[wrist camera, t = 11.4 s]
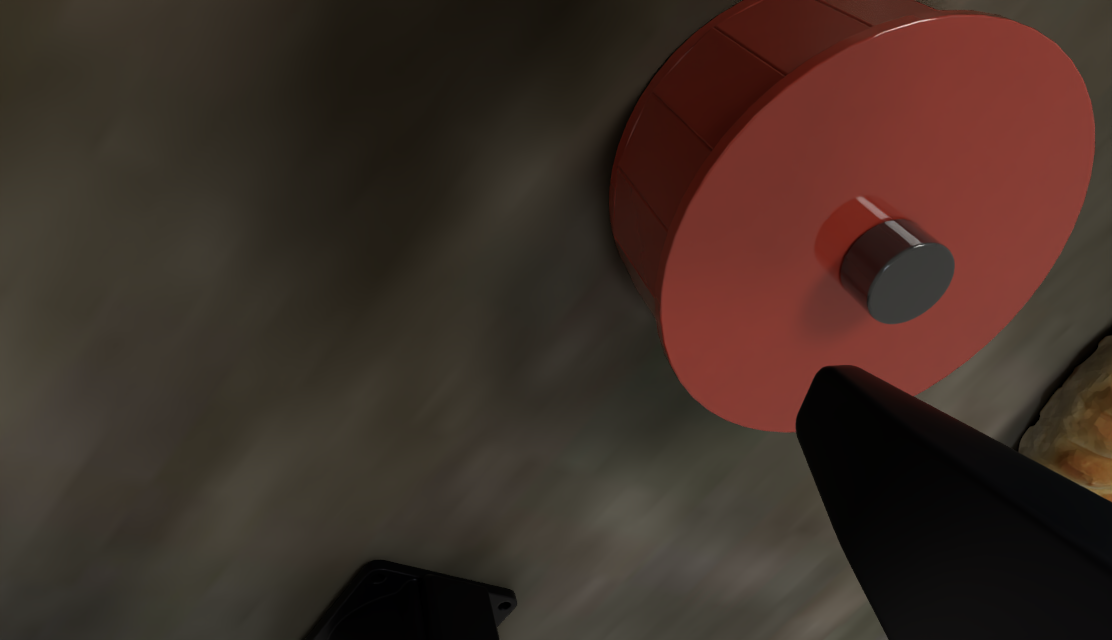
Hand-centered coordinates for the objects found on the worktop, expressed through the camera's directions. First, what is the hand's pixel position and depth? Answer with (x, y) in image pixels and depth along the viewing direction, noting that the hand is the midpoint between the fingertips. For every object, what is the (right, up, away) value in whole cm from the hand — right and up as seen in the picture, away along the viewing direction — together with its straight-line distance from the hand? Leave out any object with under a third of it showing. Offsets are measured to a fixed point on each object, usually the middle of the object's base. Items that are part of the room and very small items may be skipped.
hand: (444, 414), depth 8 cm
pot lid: (+9, +3, +11) cm, 14 cm away
